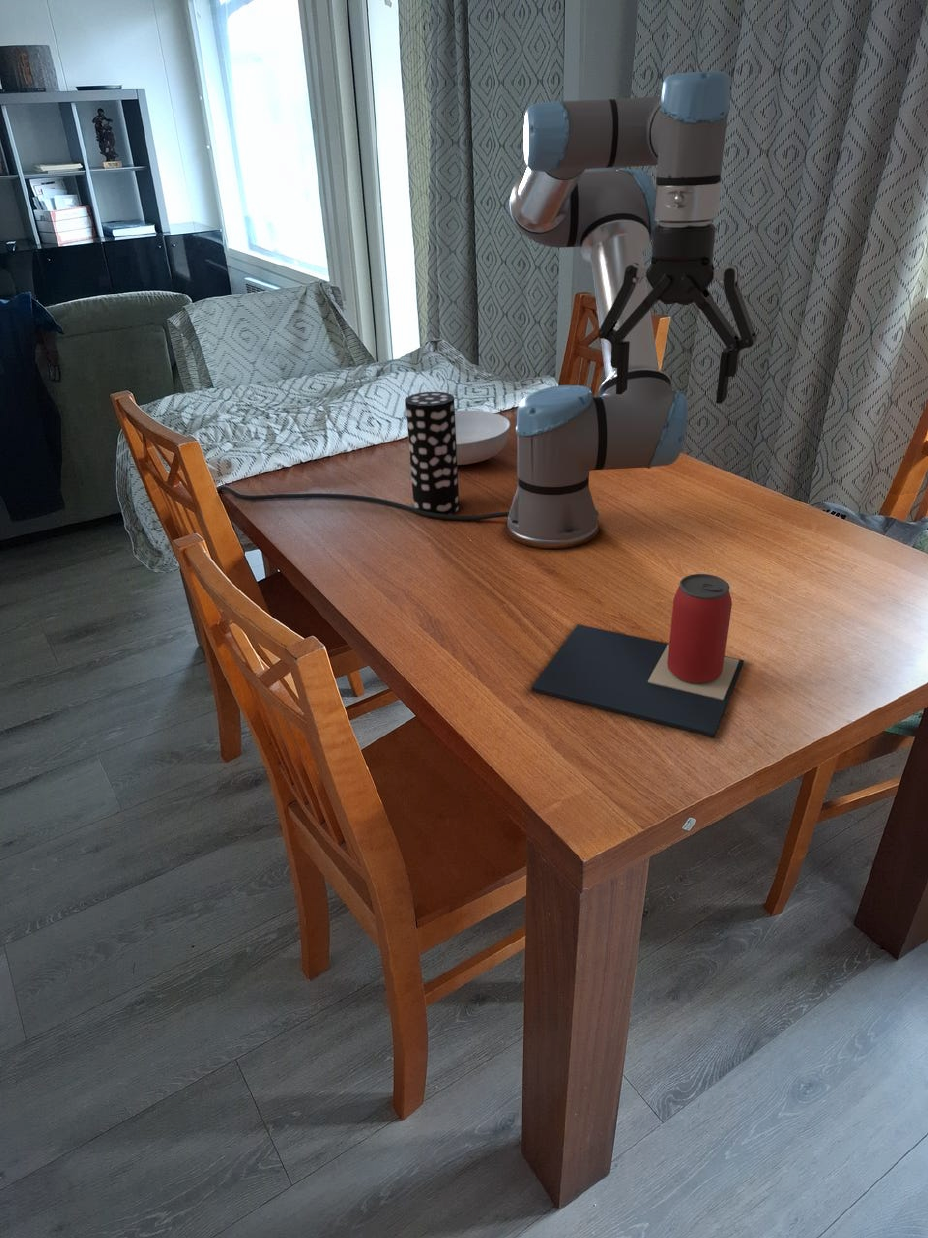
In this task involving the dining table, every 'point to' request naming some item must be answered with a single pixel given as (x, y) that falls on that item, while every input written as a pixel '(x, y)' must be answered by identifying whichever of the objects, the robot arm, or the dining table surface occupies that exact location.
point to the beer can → (699, 628)
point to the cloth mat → (635, 681)
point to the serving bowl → (479, 435)
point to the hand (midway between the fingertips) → (669, 396)
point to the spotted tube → (433, 451)
